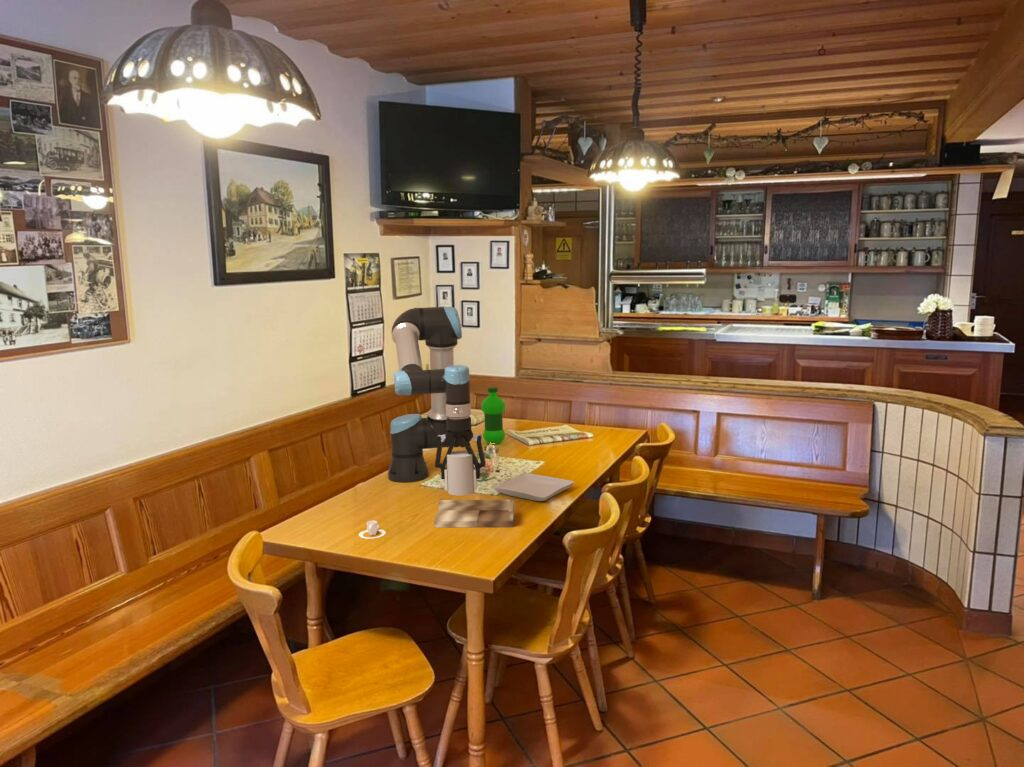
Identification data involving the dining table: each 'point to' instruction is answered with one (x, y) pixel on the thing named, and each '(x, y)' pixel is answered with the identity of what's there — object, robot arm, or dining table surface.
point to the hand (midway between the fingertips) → (461, 489)
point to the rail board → (475, 513)
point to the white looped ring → (372, 530)
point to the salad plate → (533, 486)
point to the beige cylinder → (460, 473)
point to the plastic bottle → (493, 417)
